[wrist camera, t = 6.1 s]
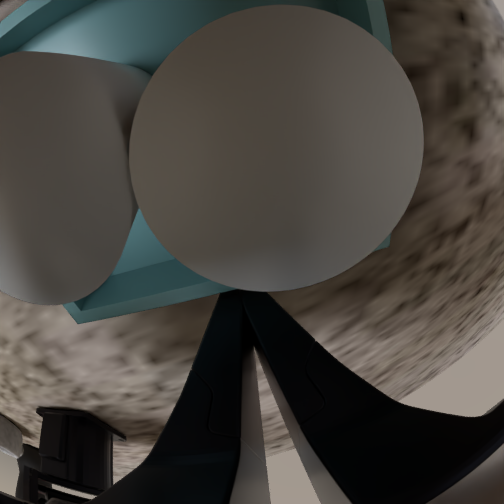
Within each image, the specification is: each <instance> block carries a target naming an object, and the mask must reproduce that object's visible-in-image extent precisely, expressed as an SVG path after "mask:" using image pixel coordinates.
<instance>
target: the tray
mask: <svg viewBox="0 0 504 504" xmlns="http://www.w3.org/2000/svg"><path fill="white" fill-rule="evenodd" d="M268 5H297V6H306V7H311V8H315V9H320V10H324V11H327V12H330V13H332V14H335V15H338V16H340V17H343V18H345V19H347V20H349V21H351V22H352V23H354V24H356V25H358V26H360V27H361V28H363V29H364V30H366V31H367V32H368V33H370V34H371V35H372V36H373V37H375V38H376V39H377V40H379V41H380V42H381V43H382V44H383V45H384V46H385V47H386V49H387V50H388V51H389V52H390V53H391V54H392V55H393V53H392V45H391V39H390V33H389V27H388V22H387V17H386V12H385V7H384V3H383V0H28V1H27V2H26V3H24V4H23V5H21V6H20V7H19V8H17V9H16V10H15V11H14V12H12V13H11V14H10V15H9V16H7V17H6V18H5V19H4V20H3V21H1V22H0V57H2V56H5V55H7V54H10V53H16V52H21V51H38V52H51V53H61V54H69V55H77V56H84V57H90V58H96V59H101V60H106V61H111V62H116V63H121V64H125V65H129V66H133V67H137V68H139V69H142V70H144V71H145V72H147V73H149V74H150V75H151V76H153V74H154V73H155V72H156V70H157V69H158V68H159V66H160V65H161V64H162V62H163V61H164V60H165V59H166V57H167V56H168V55H169V54H170V53H171V52H172V51H173V50H174V49H175V48H176V47H177V46H178V45H179V44H181V43H182V42H183V41H184V40H185V39H186V38H187V37H189V36H190V35H192V34H193V33H195V32H196V31H198V30H199V29H201V28H202V27H204V26H205V25H207V24H209V23H211V22H213V21H215V20H217V19H219V18H222V17H224V16H226V15H228V14H231V13H234V12H238V11H241V10H245V9H249V8H253V7H259V6H268ZM390 238H391V233H390V234H389V235H388V236H387V238H386V239H385V240H384V241H383V242H382V243H381V244H380V245H379V246H378V247H377V248H376V249H375V250H374V251H376V250H380V249H383V248H386V247H389V245H390ZM372 252H373V251H372ZM235 289H238V288H233V287H229V286H226V285H223V284H220V283H217V282H214V281H211V280H209V279H207V278H205V277H203V276H201V275H199V274H197V273H195V272H194V271H192V270H191V269H189V268H188V267H186V266H185V265H183V264H182V263H181V262H180V261H178V260H177V259H176V258H175V257H174V256H173V255H171V254H170V253H169V252H168V251H167V250H166V249H165V247H164V246H163V245H162V244H161V243H160V242H159V241H158V239H157V238H156V237H155V235H154V234H153V232H152V231H151V229H150V228H149V226H148V225H147V223H146V221H145V219H144V217H143V215H142V213H141V210H140V208H139V209H138V212H137V214H136V217H135V220H134V222H133V225H132V227H131V230H130V233H129V236H128V238H127V241H126V244H125V247H124V250H123V252H122V255H121V258H120V259H119V261H118V263H117V265H116V267H115V269H114V270H113V272H112V273H111V274H110V276H109V277H108V278H107V280H106V281H105V282H104V283H103V284H102V285H101V286H100V287H99V288H98V289H96V290H95V291H93V292H92V293H90V294H89V295H88V296H85V297H83V298H81V299H79V300H77V301H74V302H70V303H67V304H62V305H63V306H64V307H65V309H66V310H67V311H68V312H69V314H70V315H71V316H72V317H73V319H74V320H75V321H76V322H77V324H81V323H86V322H92V321H97V320H102V319H107V318H112V317H116V316H121V315H126V314H131V313H136V312H140V311H145V310H149V309H154V308H158V307H163V306H167V305H172V304H176V303H180V302H185V301H189V300H193V299H198V298H202V297H206V296H210V295H214V294H218V293H222V292H227V291H231V290H235Z"/></svg>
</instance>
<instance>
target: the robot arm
mask: <svg viewBox="0 0 504 504" xmlns="http://www.w3.org/2000/svg"><path fill="white" fill-rule="evenodd" d="M254 347H255V350H256V353H257V355H258V358H259V361H260V363H261V366H262V368H263V371H264V373H265V376H266V378H267V381H268V383H269V386H270V388H271V390H272V393H273V395H274V398H275V400H276V403H277V405H278V407H279V410H280V412H281V415H282V417H283V419H284V422H285V424H286V427H287V429H288V431H289V434H290V436H291V438H292V441H293V443H294V445H295V447H296V450H297V452H298V454H299V456H300V459H301V461H302V463H303V466H304V467H305V470H306V472H307V474H308V477H309V479H310V481H311V483H312V485H313V488H314V490H315V492H316V494H317V496H318V498H319V501H320V502H321V504H504V399H503V400H501V401H500V402H499V403H497V405H495V406H494V407H493V408H491V409H490V410H489V411H487V412H486V413H485V414H484V415H482V416H478V417H465V416H458V415H452V414H446V413H441V412H435V411H430V410H426V409H421V408H416V407H412V406H408V405H404V404H402V403H400V402H397V401H395V400H394V399H392V398H390V397H388V396H387V395H385V394H384V393H382V392H381V391H379V390H378V389H377V388H375V387H374V386H372V385H371V384H369V383H368V382H367V381H365V380H364V379H362V378H361V377H359V376H358V375H357V374H355V373H354V372H352V371H351V370H350V369H348V368H347V367H346V366H345V365H343V364H342V363H341V362H339V361H338V360H337V359H336V358H335V357H334V356H332V355H331V354H330V353H329V352H328V351H327V350H326V349H325V348H324V347H323V346H321V345H320V344H319V343H318V342H317V341H315V339H314V338H313V337H312V336H311V335H310V334H309V333H308V332H307V331H306V330H305V329H304V328H303V327H302V326H301V325H300V324H299V323H298V322H297V321H296V320H294V319H293V318H292V317H291V316H290V315H289V314H288V313H287V312H286V311H285V310H284V309H283V308H282V307H281V306H280V305H279V304H278V303H277V302H276V301H275V300H274V299H273V298H272V297H271V296H270V295H269V294H268V293H267V292H260V291H250V290H243V289H235V290H231V291H227V292H222V293H220V295H219V298H218V300H217V303H216V305H215V308H214V310H213V313H212V316H211V318H210V321H209V323H208V326H207V329H206V331H205V334H204V336H203V339H202V341H201V344H200V347H199V349H198V352H197V355H196V357H195V360H194V362H193V365H192V370H190V373H189V375H188V378H187V381H186V383H185V385H184V388H183V390H182V393H181V395H180V397H179V399H178V401H177V403H176V405H175V407H174V409H173V411H172V413H171V415H170V417H169V419H168V421H167V423H166V425H165V426H164V428H163V430H162V432H161V434H160V436H159V438H158V440H157V441H156V443H155V445H154V447H153V449H152V450H151V452H150V453H149V455H148V456H147V458H146V459H145V460H144V461H143V462H142V463H141V464H140V465H139V466H138V467H137V468H135V469H134V470H133V471H131V472H130V473H129V474H127V475H126V476H125V477H123V478H122V479H121V480H119V481H118V482H117V483H115V484H114V485H113V441H126V436H124V435H122V434H121V433H119V432H117V431H115V430H114V429H112V428H110V427H109V426H107V425H105V424H104V423H102V422H101V421H99V420H97V419H96V418H94V417H93V416H91V415H90V414H88V413H85V412H79V411H63V410H51V409H42V408H37V409H36V413H37V414H39V415H40V416H42V417H43V421H42V428H41V436H40V444H39V454H40V456H41V472H39V471H38V470H37V469H34V468H30V467H28V466H25V465H24V474H23V500H22V499H19V498H17V497H14V496H11V495H9V494H6V493H4V492H1V491H0V504H271V502H270V493H269V484H268V475H267V466H266V457H265V448H264V439H263V429H262V420H261V410H260V401H259V391H258V381H257V371H256V362H255V352H254ZM44 473H45V474H44ZM38 479H41V480H43V481H46V482H49V483H52V484H55V485H58V486H61V487H64V488H67V489H71V490H75V491H78V492H82V493H86V494H90V495H94V496H97V497H95V498H94V499H92V500H91V499H87V498H83V497H79V496H75V495H72V494H68V493H65V492H62V491H58V490H55V489H52V488H49V487H46V486H44V485H41V484H38ZM38 493H40V494H43V495H45V499H44V498H40V499H38Z"/></svg>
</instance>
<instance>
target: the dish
mask: <svg viewBox="0 0 504 504" xmlns="http://www.w3.org/2000/svg"><path fill="white" fill-rule="evenodd" d="M0 450H1V451H2V452H4V453H6V454H9V455H11V456H13V457H15V458H19V457H20V456H22V455H23V452H24V449H23V446H22V433H21V431H20V430H19V429H18V428H17V427H16V426H15V425H14V424H13V423H11V422H10V421H9V420H7V419H6V418H5V417H3V416H2V415H0Z"/></svg>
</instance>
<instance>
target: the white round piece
mask: <svg viewBox="0 0 504 504" xmlns="http://www.w3.org/2000/svg"><path fill="white" fill-rule="evenodd" d="M423 152H424V132H423V123H422V116H421V112H420V108H419V104H418V100H417V98H416V95H415V92H414V90H413V87H412V85H411V83H410V81H409V79H408V77H407V75H406V74H405V72H404V70H403V68H402V67H401V66H400V64H399V63H398V62H397V60H396V59H395V58H394V56H393V55H392V54H391V53H390V52H389V51H388V50H387V49H386V47H385V46H384V45H383V44H382V43H381V42H380V41H379V40H377V39H376V38H375V37H373V36H372V35H371V34H370V33H368V32H367V31H366V30H364V29H363V28H361V27H360V26H358V25H356V24H354V23H352V22H351V21H349V20H347V19H345V18H343V17H340V16H338V15H335V14H332V13H330V12H327V11H324V10H320V9H315V8H311V7H306V6H297V5H268V6H259V7H253V8H249V9H245V10H241V11H238V12H234V13H231V14H228V15H226V16H224V17H222V18H219V19H217V20H215V21H213V22H211V23H209V24H207V25H205V26H204V27H202V28H201V29H199V30H198V31H196V32H195V33H193V34H192V35H190V36H189V37H187V38H186V39H185V40H184V41H183V42H182V43H181V44H179V45H178V46H177V47H176V48H175V49H174V50H173V51H172V52H171V53H170V54H169V55H168V56H167V57H166V59H165V60H164V61H163V62H162V64H161V65H160V66H159V68H158V69H157V70H156V72H155V73H154V74H153V76H152V78H151V80H150V81H149V83H148V85H147V87H146V89H145V90H144V92H143V94H142V96H141V99H140V102H139V105H138V107H137V110H136V113H135V116H134V120H133V125H132V130H131V136H130V146H129V166H130V174H131V181H132V186H133V190H134V193H135V197H136V200H137V203H138V206H139V208H140V210H141V213H142V215H143V217H144V219H145V221H146V223H147V225H148V226H149V228H150V229H151V231H152V232H153V234H154V235H155V237H156V238H157V239H158V241H159V242H160V243H161V244H162V245H163V246H164V247H165V249H166V250H167V251H168V252H169V253H170V254H171V255H173V256H174V257H175V258H176V259H177V260H178V261H180V262H181V263H182V264H183V265H185V266H186V267H188V268H189V269H191V270H192V271H194V272H195V273H197V274H199V275H201V276H203V277H205V278H207V279H209V280H211V281H214V282H217V283H220V284H223V285H226V286H229V287H233V288H238V289H243V290H250V291H260V292H266V291H285V290H293V289H298V288H302V287H307V286H310V285H313V284H317V283H320V282H323V281H325V280H327V279H330V278H332V277H334V276H337V275H339V274H340V273H342V272H344V271H346V270H348V269H349V268H351V267H353V266H354V265H355V264H357V263H358V262H360V261H361V260H363V259H364V258H365V257H366V256H368V255H369V254H370V253H371V252H372V251H374V250H375V249H376V248H377V247H378V246H379V245H380V244H381V243H382V242H383V241H384V240H385V239H386V238H387V236H388V235H389V234H390V233H391V231H392V230H393V229H394V228H395V226H396V225H397V224H398V222H399V220H400V219H401V217H402V216H403V214H404V213H405V211H406V209H407V207H408V205H409V203H410V201H411V199H412V196H413V194H414V191H415V188H416V186H417V183H418V179H419V175H420V171H421V167H422V160H423Z"/></svg>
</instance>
